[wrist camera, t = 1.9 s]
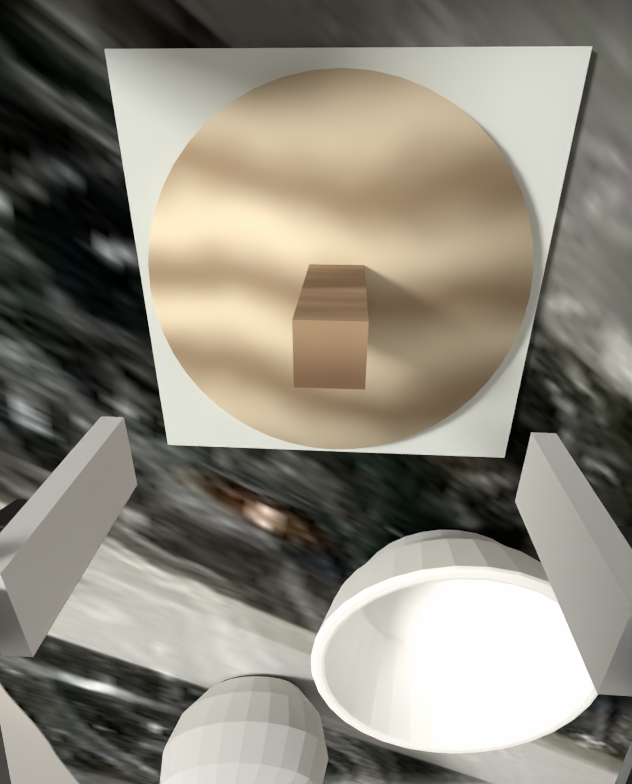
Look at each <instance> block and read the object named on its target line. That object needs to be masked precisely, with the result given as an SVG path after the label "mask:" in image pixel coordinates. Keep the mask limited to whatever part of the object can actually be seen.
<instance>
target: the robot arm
mask: <svg viewBox="0 0 632 784" xmlns="http://www.w3.org/2000/svg"><path fill="white" fill-rule="evenodd" d="M136 486H137V481H136V476H135V471H134V466H133V461H132V456H131V451H130V446H129V441H128V436H127V431H126V426H125V421H124V417H100V418H99V420H98V421H97V422H96V423H95V424H94V425H93V427H92V428H91V429H90V430H89V431H88V432H87V433H86V435H85V436H84V437H83V438H82V439H81V440H80V441H79V443H78V444H77V445H76V446H75V447H74V448H73V450H72V451H71V452H70V453H69V454H68V455H67V456H66V458H65V459H64V460H63V461H62V462H61V463H60V465H59V466H58V467H57V468H56V469H55V470H54V471H53V473H52V474H51V475H50V476H49V477H48V478H47V479H46V481H45V482H44V483H43V484H42V485H41V486H40V488H39V489H38V490H37V491H36V492H35V493H34V494H33V496H32V497H31V498H30V499H29V500H26V499H17V500H15V501H14V502H12V503H11V504H9V505H7V506H6V507H4V508H3V509H1V510H0V651H1V653H2V655H10V656H25V657H33V656H34V654H35V653H36V651H37V650H38V648H39V646H40V645H41V643H42V641H43V640H44V638H45V636H46V635H47V633H48V631H49V630H50V628H51V626H52V625H53V623H54V621H55V620H56V618H57V616H58V615H59V613H60V611H61V610H62V608H63V606H64V605H65V603H66V601H67V600H68V598H69V597H70V595H71V593H72V592H73V590H74V588H75V587H76V585H77V583H78V582H79V580H80V578H81V577H82V575H83V573H84V572H85V570H86V568H87V567H88V565H89V563H90V562H91V560H92V558H93V557H94V555H95V553H96V552H97V550H98V549H99V547H100V545H101V544H102V542H103V540H104V539H105V537H106V535H107V534H108V532H109V530H110V529H111V527H112V525H113V524H114V522H115V520H116V519H117V517H118V515H119V514H120V512H121V510H122V509H123V507H124V505H125V504H126V502H127V501H128V499H129V497H130V496H131V494H132V492H133V491H134V489H135V487H136ZM515 502H516V505H517V507H518V509H519V512H520V514H521V516H522V519H523V521H524V523H525V526H526V528H527V530H528V533H529V535H530V538H531V540H532V542H533V545H534V547H535V549H536V552H537V554H538V556H539V559H540V561H541V563H542V566H543V568H544V570H545V573H546V575H547V577H548V580H549V582H550V584H551V587H552V589H553V591H554V594H555V596H556V598H557V601H558V603H559V605H560V608H561V610H562V613H563V615H564V617H565V620H566V622H567V624H568V627H569V629H570V631H571V634H572V636H573V638H574V641H575V643H576V645H577V648H578V650H579V652H580V655H581V657H582V659H583V662H584V664H585V666H586V669H587V671H588V673H589V676H590V678H591V680H592V683H593V685H594V688H595V690H596V692H597V694H606V695H621V696H632V527H626V526H616V524H615V523H614V521H613V520H612V518H611V517H610V515H609V513H608V512H607V510H606V509H605V507H604V506H603V504H602V503H601V501H600V500H599V498H598V497H597V495H596V494H595V492H594V491H593V489H592V487H591V486H590V484H589V483H588V481H587V480H586V478H585V477H584V475H583V474H582V472H581V471H580V469H579V468H578V466H577V465H576V463H575V461H574V460H573V458H572V457H571V455H570V454H569V452H568V451H567V449H566V448H565V446H564V445H563V443H562V442H561V440H560V439H559V437H558V435H557V434H556V433H532V432H531V435H530V440H529V444H528V448H527V453H526V457H525V461H524V465H523V470H522V474H521V478H520V483H519V487H518V491H517V495H516V500H515ZM0 784H11V781H10V776H9V770H8V765H7V759H6V754H5V748H4V743H3V738H2V732H1V727H0ZM615 784H632V742H631V744H630V747H629V749H628V752H627V755H626V757H625V760H624V762H623V765H622V767H621V770H620V772H619V775H618V777H617V780H616V782H615Z"/></svg>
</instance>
